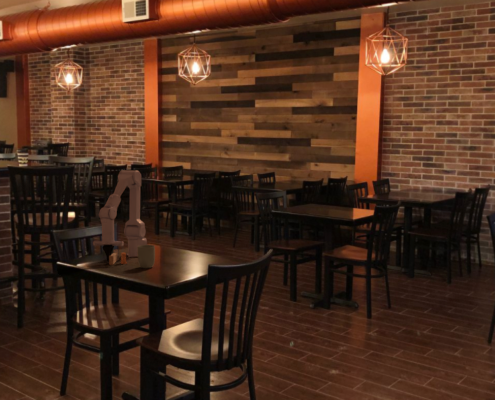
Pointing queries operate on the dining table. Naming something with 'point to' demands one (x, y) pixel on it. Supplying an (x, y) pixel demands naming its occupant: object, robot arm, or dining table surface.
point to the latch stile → (123, 258)
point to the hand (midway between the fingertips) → (108, 260)
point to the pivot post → (117, 253)
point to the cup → (146, 256)
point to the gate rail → (113, 258)
